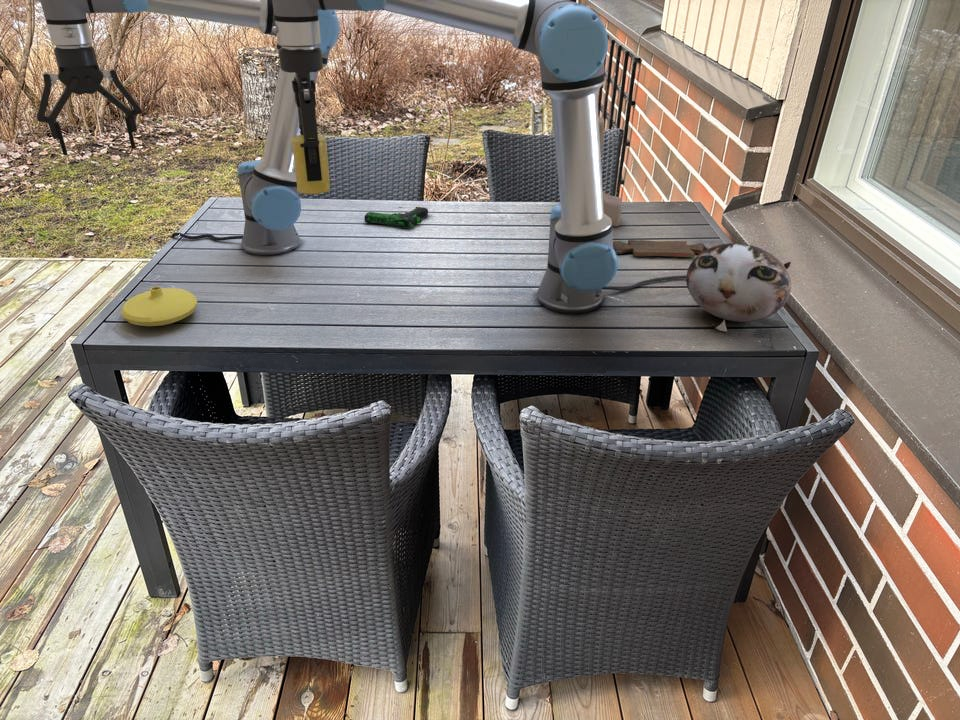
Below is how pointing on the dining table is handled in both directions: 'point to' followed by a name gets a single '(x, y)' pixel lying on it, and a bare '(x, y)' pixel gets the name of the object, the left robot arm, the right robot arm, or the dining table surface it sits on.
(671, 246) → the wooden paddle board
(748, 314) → the plush toy
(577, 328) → the dining table surface
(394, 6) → the right robot arm
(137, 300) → the vase
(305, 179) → the tin
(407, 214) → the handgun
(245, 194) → the left robot arm
